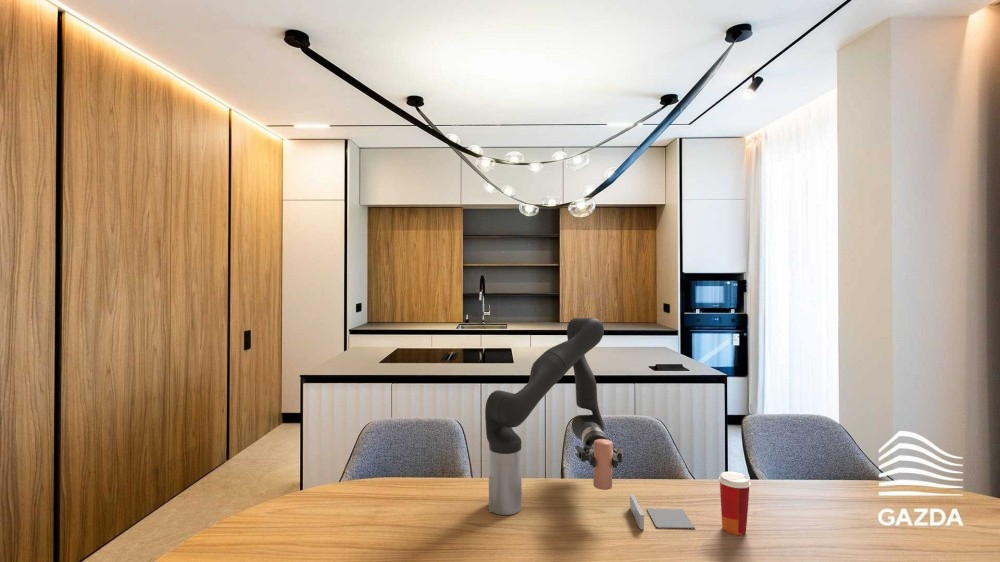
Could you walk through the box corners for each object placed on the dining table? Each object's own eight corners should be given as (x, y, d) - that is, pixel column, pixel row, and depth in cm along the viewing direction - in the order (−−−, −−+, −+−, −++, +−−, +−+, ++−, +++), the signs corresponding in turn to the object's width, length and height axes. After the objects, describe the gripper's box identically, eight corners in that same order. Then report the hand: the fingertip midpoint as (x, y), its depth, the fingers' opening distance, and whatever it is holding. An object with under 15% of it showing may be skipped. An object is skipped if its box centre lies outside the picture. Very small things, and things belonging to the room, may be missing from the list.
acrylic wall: (640, 530, 131) (640, 514, 130) (629, 508, 143) (629, 494, 142) (643, 530, 130) (643, 515, 130) (633, 508, 142) (633, 494, 142)
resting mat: (656, 528, 131) (656, 526, 131) (646, 509, 141) (646, 508, 141) (695, 528, 131) (695, 527, 131) (682, 510, 141) (682, 509, 141)
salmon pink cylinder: (594, 489, 134) (595, 445, 134) (592, 481, 139) (592, 438, 139) (613, 490, 134) (614, 445, 134) (610, 482, 139) (610, 439, 139)
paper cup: (743, 522, 134) (744, 471, 134) (755, 538, 126) (755, 483, 126) (713, 521, 135) (713, 470, 134) (723, 536, 127) (723, 482, 127)
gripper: (571, 429, 151) (578, 449, 134) (619, 430, 150) (632, 450, 133) (571, 454, 151) (577, 477, 134) (619, 455, 150) (631, 478, 133)
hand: (604, 463), depth 134 cm, fingers closed on salmon pink cylinder, 5 cm apart
